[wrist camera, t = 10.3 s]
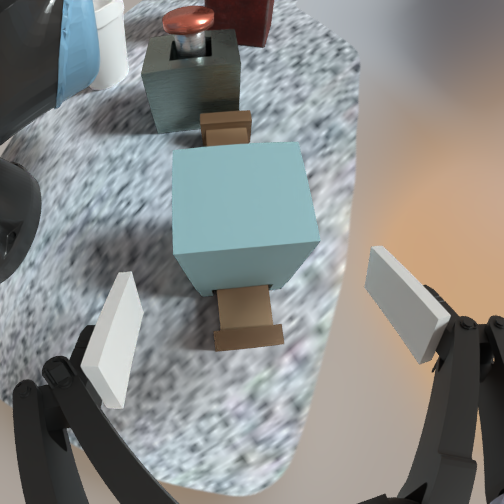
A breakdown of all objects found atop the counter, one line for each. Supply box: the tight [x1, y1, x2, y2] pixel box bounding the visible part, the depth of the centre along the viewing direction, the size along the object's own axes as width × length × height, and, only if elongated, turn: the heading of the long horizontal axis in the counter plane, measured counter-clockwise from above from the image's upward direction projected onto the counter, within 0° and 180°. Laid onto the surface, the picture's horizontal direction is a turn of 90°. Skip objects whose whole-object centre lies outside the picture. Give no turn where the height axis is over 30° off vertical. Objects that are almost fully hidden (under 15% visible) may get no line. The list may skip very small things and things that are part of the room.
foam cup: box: [89, 0, 129, 90], centre depth 27 cm, size 10×9×13 cm
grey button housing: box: [141, 29, 241, 134], centre depth 28 cm, size 7×9×9 cm
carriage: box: [172, 142, 320, 297], centre depth 21 cm, size 6×7×12 cm
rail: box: [200, 110, 284, 352], centre depth 26 cm, size 22×5×4 cm, turn 7°
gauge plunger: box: [162, 6, 214, 60], centre depth 23 cm, size 5×5×6 cm
